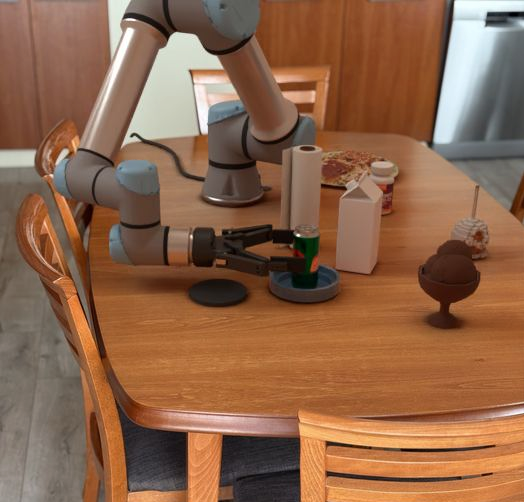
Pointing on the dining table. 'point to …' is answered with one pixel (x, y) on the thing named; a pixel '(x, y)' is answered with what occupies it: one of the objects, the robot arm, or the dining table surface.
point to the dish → (323, 291)
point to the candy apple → (473, 231)
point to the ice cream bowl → (449, 279)
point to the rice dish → (348, 166)
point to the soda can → (306, 255)
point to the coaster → (218, 292)
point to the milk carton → (359, 226)
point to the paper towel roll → (300, 187)
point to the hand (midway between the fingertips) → (306, 250)
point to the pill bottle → (383, 183)
